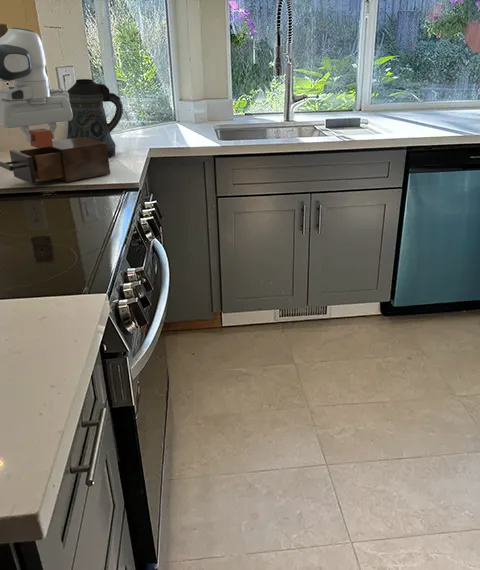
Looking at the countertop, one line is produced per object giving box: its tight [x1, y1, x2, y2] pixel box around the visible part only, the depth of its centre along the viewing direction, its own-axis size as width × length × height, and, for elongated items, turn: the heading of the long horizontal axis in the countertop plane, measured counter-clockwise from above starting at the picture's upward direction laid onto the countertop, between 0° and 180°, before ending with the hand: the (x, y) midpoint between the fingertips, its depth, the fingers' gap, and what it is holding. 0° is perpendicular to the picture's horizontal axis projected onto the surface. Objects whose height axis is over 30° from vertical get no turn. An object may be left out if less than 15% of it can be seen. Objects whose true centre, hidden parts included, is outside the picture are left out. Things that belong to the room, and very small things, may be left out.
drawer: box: [0, 147, 64, 185], centre depth 173 cm, size 18×11×8 cm, turn 139°
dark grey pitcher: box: [66, 78, 124, 159], centre depth 202 cm, size 16×19×25 cm
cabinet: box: [48, 137, 111, 183], centre depth 182 cm, size 15×13×10 cm
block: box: [27, 128, 53, 148], centre depth 172 cm, size 4×4×4 cm
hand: (40, 140), depth 172 cm, fingers closed on block, 4 cm apart
